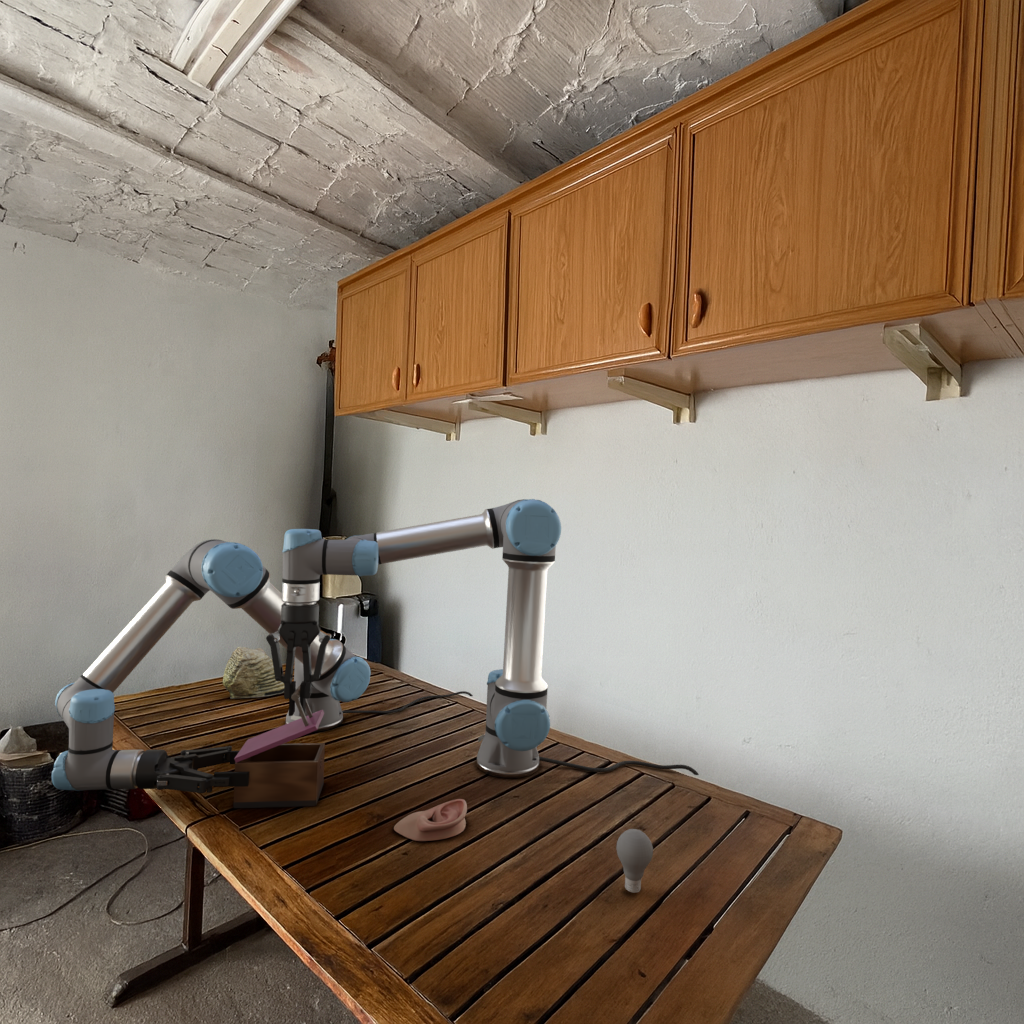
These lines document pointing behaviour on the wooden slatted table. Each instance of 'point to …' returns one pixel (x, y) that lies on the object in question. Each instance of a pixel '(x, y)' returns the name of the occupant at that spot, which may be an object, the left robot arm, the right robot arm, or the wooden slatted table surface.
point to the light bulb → (634, 857)
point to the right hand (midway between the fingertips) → (297, 713)
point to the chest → (282, 777)
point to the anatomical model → (434, 822)
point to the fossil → (251, 674)
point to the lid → (282, 731)
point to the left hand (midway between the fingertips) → (255, 767)
